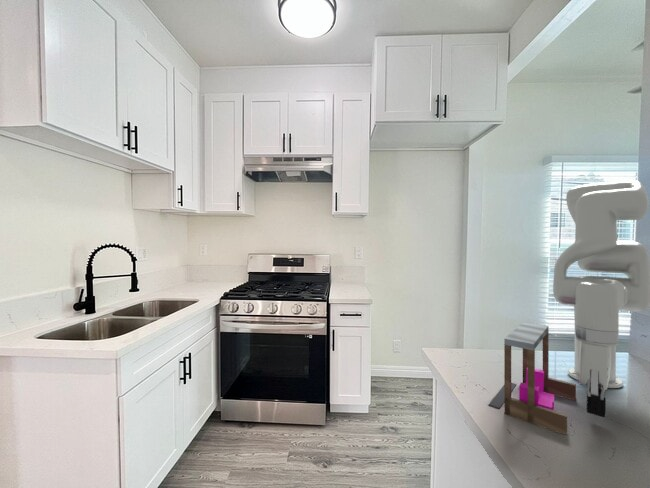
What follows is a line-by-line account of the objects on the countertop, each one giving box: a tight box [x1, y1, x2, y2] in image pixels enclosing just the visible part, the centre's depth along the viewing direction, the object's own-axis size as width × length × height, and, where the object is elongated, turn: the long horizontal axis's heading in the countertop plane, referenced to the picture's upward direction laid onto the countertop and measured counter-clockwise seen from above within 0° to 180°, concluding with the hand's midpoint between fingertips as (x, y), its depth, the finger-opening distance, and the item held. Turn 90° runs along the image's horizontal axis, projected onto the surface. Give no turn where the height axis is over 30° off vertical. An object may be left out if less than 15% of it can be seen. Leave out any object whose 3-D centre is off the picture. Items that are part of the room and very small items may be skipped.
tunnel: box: [503, 321, 577, 436], centre depth 79 cm, size 21×12×18 cm, turn 136°
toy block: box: [518, 367, 555, 411], centre depth 78 cm, size 15×6×8 cm, turn 140°
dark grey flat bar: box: [488, 382, 517, 410], centre depth 85 cm, size 18×2×1 cm, turn 136°
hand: (596, 413), depth 71 cm, fingers closed
